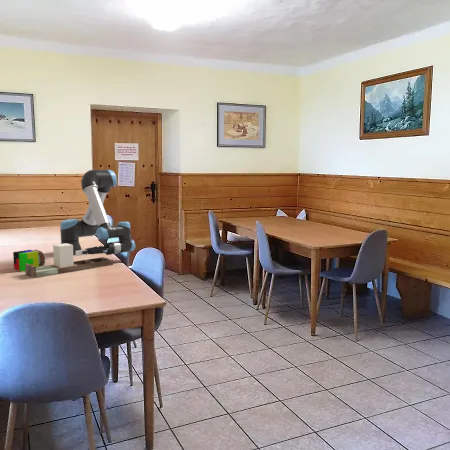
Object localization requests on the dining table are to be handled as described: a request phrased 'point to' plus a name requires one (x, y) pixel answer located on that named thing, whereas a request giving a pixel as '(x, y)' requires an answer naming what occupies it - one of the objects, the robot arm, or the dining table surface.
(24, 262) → the puzzle toy
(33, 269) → the trap box
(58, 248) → the block
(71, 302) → the dining table surface
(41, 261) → the tin
